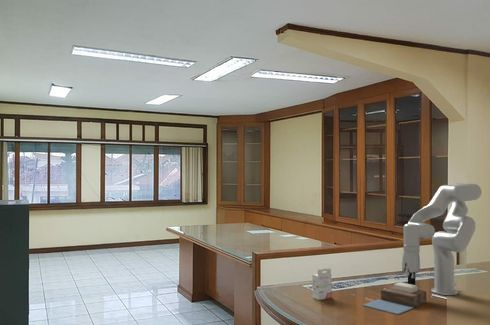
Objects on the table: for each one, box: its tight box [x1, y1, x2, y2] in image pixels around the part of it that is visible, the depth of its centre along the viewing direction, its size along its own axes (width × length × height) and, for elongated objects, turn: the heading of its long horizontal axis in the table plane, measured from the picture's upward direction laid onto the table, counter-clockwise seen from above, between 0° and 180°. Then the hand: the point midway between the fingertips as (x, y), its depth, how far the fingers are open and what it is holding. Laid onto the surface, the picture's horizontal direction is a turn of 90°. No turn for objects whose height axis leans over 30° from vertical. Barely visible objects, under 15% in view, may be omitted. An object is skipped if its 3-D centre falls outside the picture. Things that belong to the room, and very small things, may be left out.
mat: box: [362, 298, 415, 316], centre depth 203 cm, size 14×18×1 cm
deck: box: [380, 285, 427, 308], centre depth 213 cm, size 14×16×5 cm
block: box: [393, 281, 418, 293], centre depth 215 cm, size 6×9×2 cm, turn 42°
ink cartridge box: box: [311, 267, 333, 301], centre depth 219 cm, size 9×5×15 cm, turn 117°
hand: (411, 285), depth 219 cm, fingers closed
